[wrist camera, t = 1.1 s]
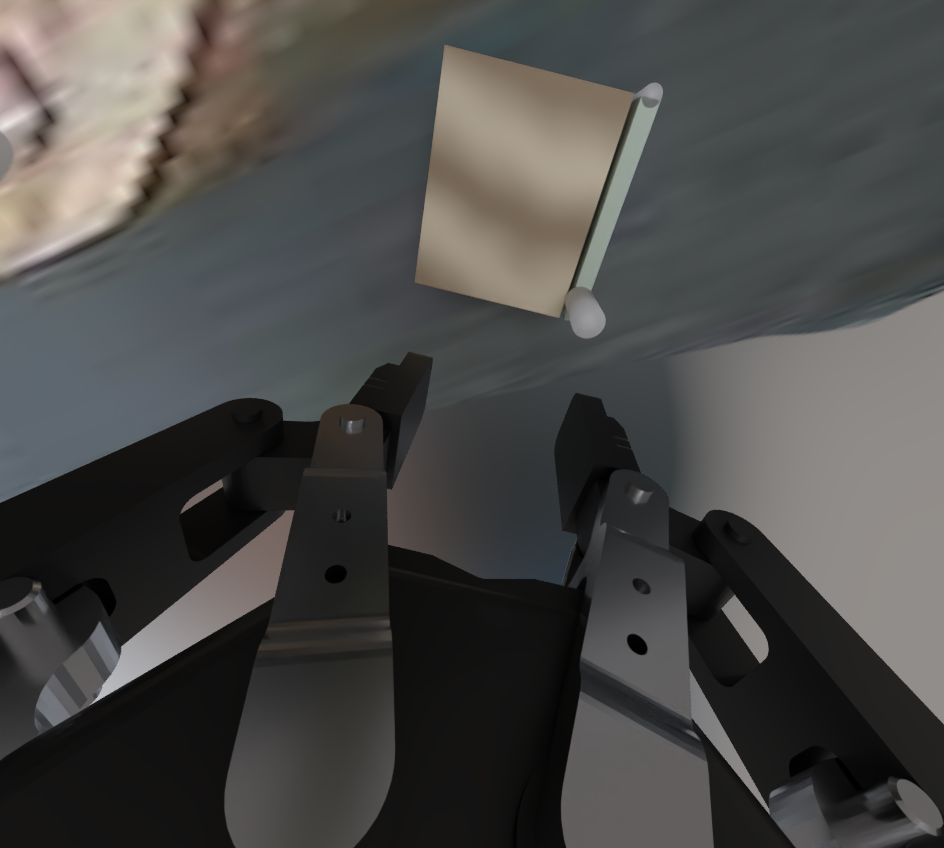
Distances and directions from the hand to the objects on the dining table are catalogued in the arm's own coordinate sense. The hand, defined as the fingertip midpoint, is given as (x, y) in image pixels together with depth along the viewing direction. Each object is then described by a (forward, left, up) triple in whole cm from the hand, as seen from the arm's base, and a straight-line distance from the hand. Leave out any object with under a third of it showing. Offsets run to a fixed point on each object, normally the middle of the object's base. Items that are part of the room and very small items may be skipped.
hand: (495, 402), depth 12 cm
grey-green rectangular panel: (-5, +5, -27) cm, 28 cm away
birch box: (-4, -1, -27) cm, 28 cm away
